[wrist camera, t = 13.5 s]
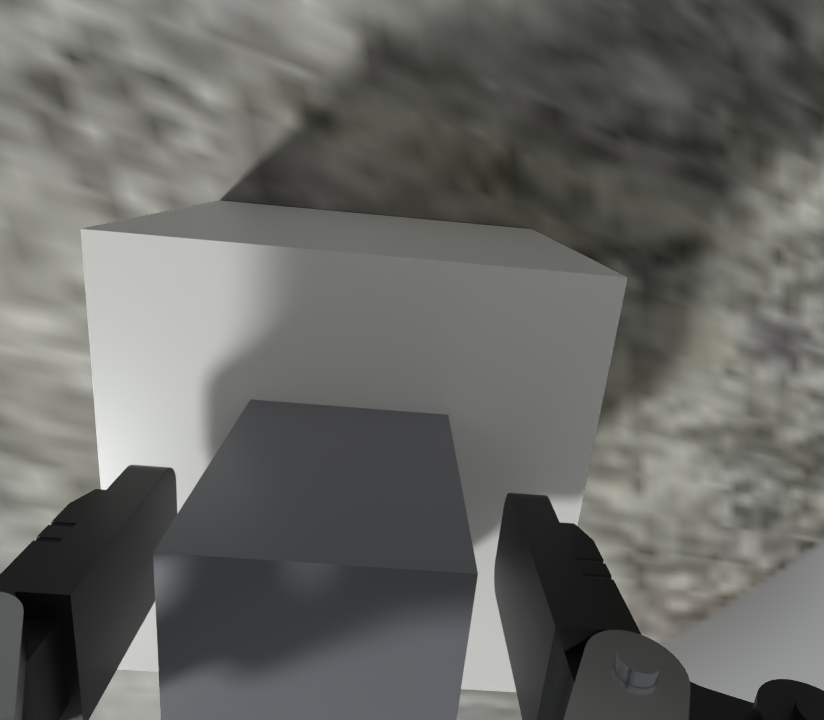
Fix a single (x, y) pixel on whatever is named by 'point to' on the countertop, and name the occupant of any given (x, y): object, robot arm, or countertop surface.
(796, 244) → the countertop surface
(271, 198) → the countertop surface
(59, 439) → the countertop surface
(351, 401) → the white square block
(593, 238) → the countertop surface
